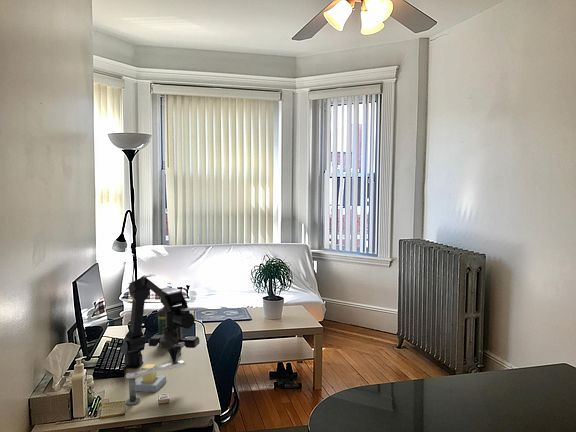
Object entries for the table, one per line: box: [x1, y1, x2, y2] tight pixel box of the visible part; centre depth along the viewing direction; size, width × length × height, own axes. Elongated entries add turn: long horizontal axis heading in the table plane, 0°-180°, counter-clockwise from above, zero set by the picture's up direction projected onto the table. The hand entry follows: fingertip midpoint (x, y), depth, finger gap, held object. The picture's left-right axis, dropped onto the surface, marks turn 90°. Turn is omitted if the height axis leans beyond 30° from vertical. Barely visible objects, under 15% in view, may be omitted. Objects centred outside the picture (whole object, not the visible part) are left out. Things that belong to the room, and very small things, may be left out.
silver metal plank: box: [125, 359, 186, 380], centre depth 183 cm, size 22×4×1 cm, turn 126°
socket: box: [135, 375, 167, 393], centre depth 192 cm, size 9×9×2 cm
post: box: [125, 378, 141, 406], centre depth 178 cm, size 5×5×9 cm
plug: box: [141, 363, 157, 383], centre depth 192 cm, size 4×4×8 cm
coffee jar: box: [157, 306, 166, 347], centre depth 240 cm, size 10×8×19 cm
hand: (174, 363), depth 189 cm, fingers closed
